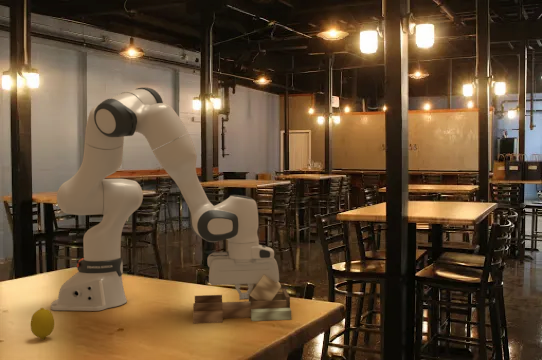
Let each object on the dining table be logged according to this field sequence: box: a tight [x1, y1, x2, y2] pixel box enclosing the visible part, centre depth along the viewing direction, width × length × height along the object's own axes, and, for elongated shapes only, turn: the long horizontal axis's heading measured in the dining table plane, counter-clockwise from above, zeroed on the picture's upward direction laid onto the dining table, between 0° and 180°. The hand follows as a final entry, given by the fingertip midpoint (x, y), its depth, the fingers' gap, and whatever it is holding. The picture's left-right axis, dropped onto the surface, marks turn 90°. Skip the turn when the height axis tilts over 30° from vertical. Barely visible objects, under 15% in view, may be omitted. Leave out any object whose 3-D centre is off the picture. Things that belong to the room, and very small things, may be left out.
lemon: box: [30, 307, 55, 340], centre depth 143 cm, size 6×6×8 cm
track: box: [192, 288, 292, 324], centre depth 165 cm, size 27×16×6 cm, turn 95°
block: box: [249, 274, 282, 301], centre depth 165 cm, size 6×6×7 cm
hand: (244, 299), depth 164 cm, fingers closed
